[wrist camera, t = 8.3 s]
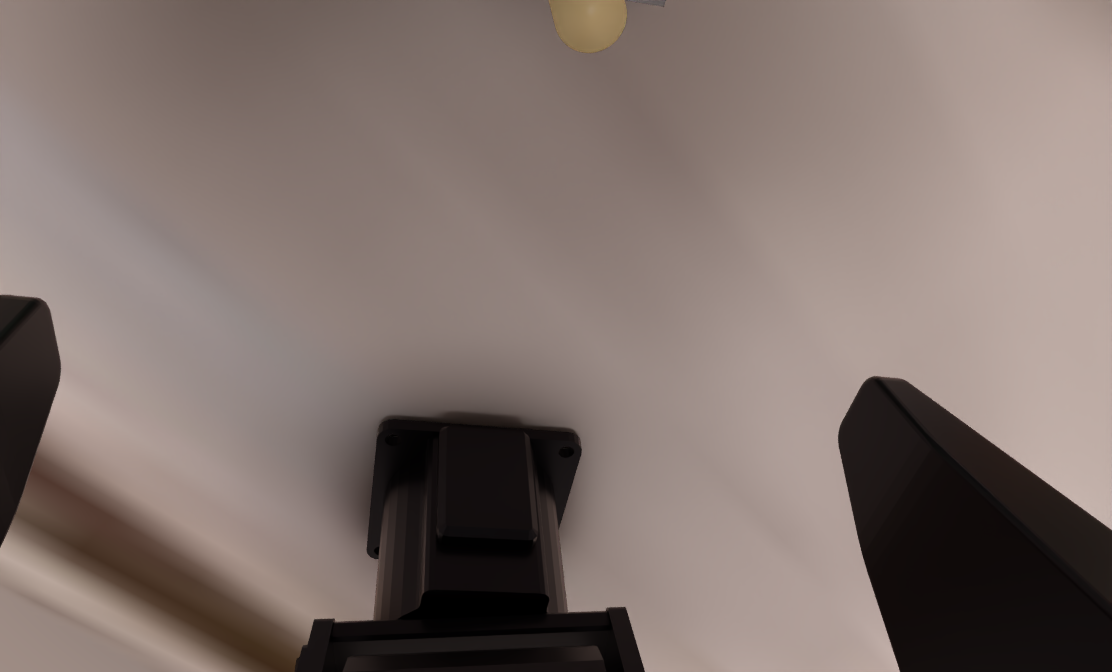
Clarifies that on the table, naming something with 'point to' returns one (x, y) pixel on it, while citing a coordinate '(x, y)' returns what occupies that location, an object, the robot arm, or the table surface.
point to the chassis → (591, 22)
